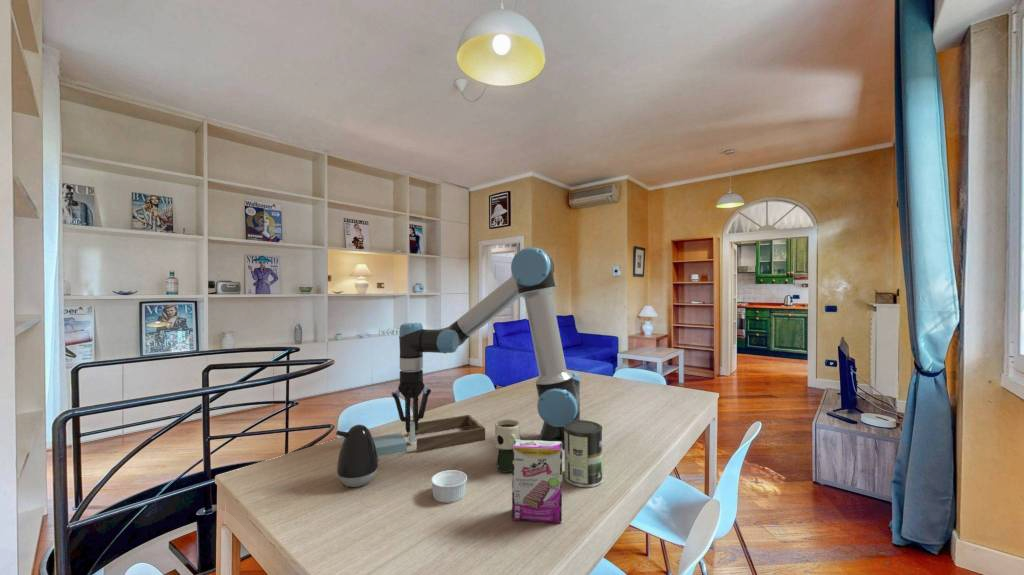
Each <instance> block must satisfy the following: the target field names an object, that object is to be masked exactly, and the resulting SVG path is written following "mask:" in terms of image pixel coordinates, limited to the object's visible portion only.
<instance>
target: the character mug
mask: <svg viewBox="0 0 1024 575" xmlns="http://www.w3.org/2000/svg"><path fill="white" fill-rule="evenodd" d="M494 436H495V437H494V439H495V440H494V445H495V447H496V448H497V449H498V452H497V453H498V454H497V460H496V466H497V470H498V471H499V472H503V473H509V472H512V470H513V469H512V466H513V445H514V441H515V439H518V440H521V424H520V422H519V421H518V420H515V419H501V420H498V421H496V422H495V424H494Z"/></svg>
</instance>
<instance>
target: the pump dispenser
mask: <svg viewBox="0 0 1024 575" xmlns="http://www.w3.org/2000/svg"><path fill="white" fill-rule="evenodd" d="M335 435H337V436H340V437H341V438H344V439H343V441H342V443H341V447H340V450H339V454H338V459H337V466H336V467H337V468H336V473H337V475H338V478H339V480H340V481H341V483H342V484H343V485H345V486H346V487H350V488H358V487H362V486H364V485H367V484H369V482H371V481H372V480H373V479H374V478H375V475H376V473H377V470H378V468H379V456H377V450H376V446H375V443H374V440H373V435H372V433H371V431H370V429H369V428H368V427H367V426H365V425H364V424H356V425H353V426H351V427H350V428H349V430H348V431H343V430H337V431H336V433H335Z"/></svg>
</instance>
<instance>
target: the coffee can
mask: <svg viewBox="0 0 1024 575" xmlns="http://www.w3.org/2000/svg"><path fill="white" fill-rule="evenodd" d="M564 442H565V449H564V479H565V481H566V482H567V483H569V484H570V485H572V486H576V487H578V486H579V488H595V487H598V486H599V485H601V484H602V483H603V480H604V479H603V426H602V424H600V423H598V422H595V421H591V420H584V419H583V420H582V419H580V420H575V421H570V422H567V423H565V424H564Z"/></svg>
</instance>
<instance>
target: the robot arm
mask: <svg viewBox="0 0 1024 575" xmlns="http://www.w3.org/2000/svg"><path fill="white" fill-rule="evenodd" d="M510 269H511V270H510V271H511V276H510V277H509V278H508V279H507V280H506V281H504V282H503V283H502V284H500V285H499V286H498V287H496V288H495V289H494V290H493V291H491V293H489V294H488V295H487V296H485V297H483V299H481V300H480V301H479V302H478V303H476V304H475V305H474V306H473V307H471V308H470V309H468V311H466V312H465V313H463V315H461V316H460V317H459V318H458V319H456V320H455V321H454V322H453V323H451V324H450V325H449V326H447V327H444V328H439V329H424V326H423V324H422V323H420V322H408V323H407V322H406V323H402V324H401V325H400V326H399V336H398V338H399V370H400V371H399V385H398V387H397V389H396V390H395V391H392V392H391V396H392V397H393V399H394V402H395V405H396V409H397V413H398V418H399V419H400V421H401V422H405V431H406V433H407V432H409V437H408V441H409V443H416V435H415V431H417V430H418V423H419V420H421V419H423V418H424V417H425V413H426V412H425V411H426V408H427V402H428V398H429V396H430V394H431V392H432V389H430V388H429V387H426V386H425V383H424V370H423V368H424V360H423V359H424V358H423V357H424V353H434V354H435V353H437V354H441V353H442V354H453V353H456V351H457V350H458V347H460V346H461V345H463V344H464V343H465V342H466V341H467V339H469V338H470V337H471V336H473V335H474V334H475V333H476V332H477V331H478V332H479V330H480V329H482V328H483V327H485V326H486V324H488V323H489V322H490V321H491V320H494V318H496V317H497V316H498V315H500V314H501V313H502V312H504V311H505V310H506V309H507V308H509V307H510V306H511V305H512V304H514V303H515V302H516V301H518V300H519V299H520V298H523V299H524V303H525V308H526V313H527V318H528V324H529V329H530V335H531V340H532V345H533V348H534V355H535V360H536V365H537V371H538V377H537V378H536V380H535V386H536V392H537V393H536V394H537V396H538V399H537V403H536V404H537V405H536V406H537V413H538V415H539V417H540V419H542V421H543V424H542V427H541V430H540V433H539V434H540V435H539V436H540V441H560V442H562V449H564V450H565V442H564V424H565V423H567V422H570V421H575V420H581V397H580V396H581V392H580V391H581V385H580V384H581V379H580V378H581V377H580V374H579V373H577V372H574V371H573V372H572V371H568V369H567V364H566V359H565V356H564V355H565V354H564V349H563V345H562V344H563V343H562V339H561V333H560V328H559V323H558V317H557V314H556V309H555V304H554V303H555V302H554V298H553V293H554V291H555V290H556V288H557V287H556V283H555V276H554V273H555V264H554V261H553V259H552V257H551V256H550V255H549V254H548V253H546V251H544V250H543V249H541V248H538V247H534V246H533V247H525V248H522V249H520V250H519V251H518V252H516V254H515V255H514V256H513V258H512V260H511V263H510ZM421 393H422V396H421V401H420V405H419V396H420V395H421ZM400 394H401V395H402V396H403V397H404V411H403V407H402V403H401V400H400V397H401V395H400ZM411 399H412V419H411Z"/></svg>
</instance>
